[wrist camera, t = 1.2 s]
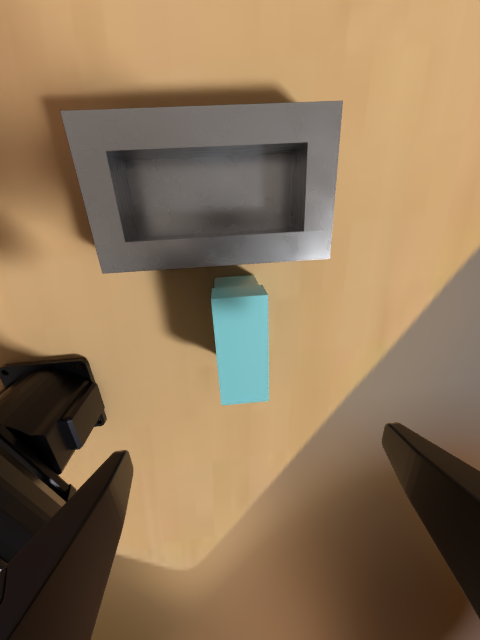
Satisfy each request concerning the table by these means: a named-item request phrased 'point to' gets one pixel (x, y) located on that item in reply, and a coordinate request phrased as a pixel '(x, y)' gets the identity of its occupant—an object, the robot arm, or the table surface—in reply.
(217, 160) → the grey slotted tray
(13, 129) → the table surface
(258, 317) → the light blue rectangular block
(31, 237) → the table surface
